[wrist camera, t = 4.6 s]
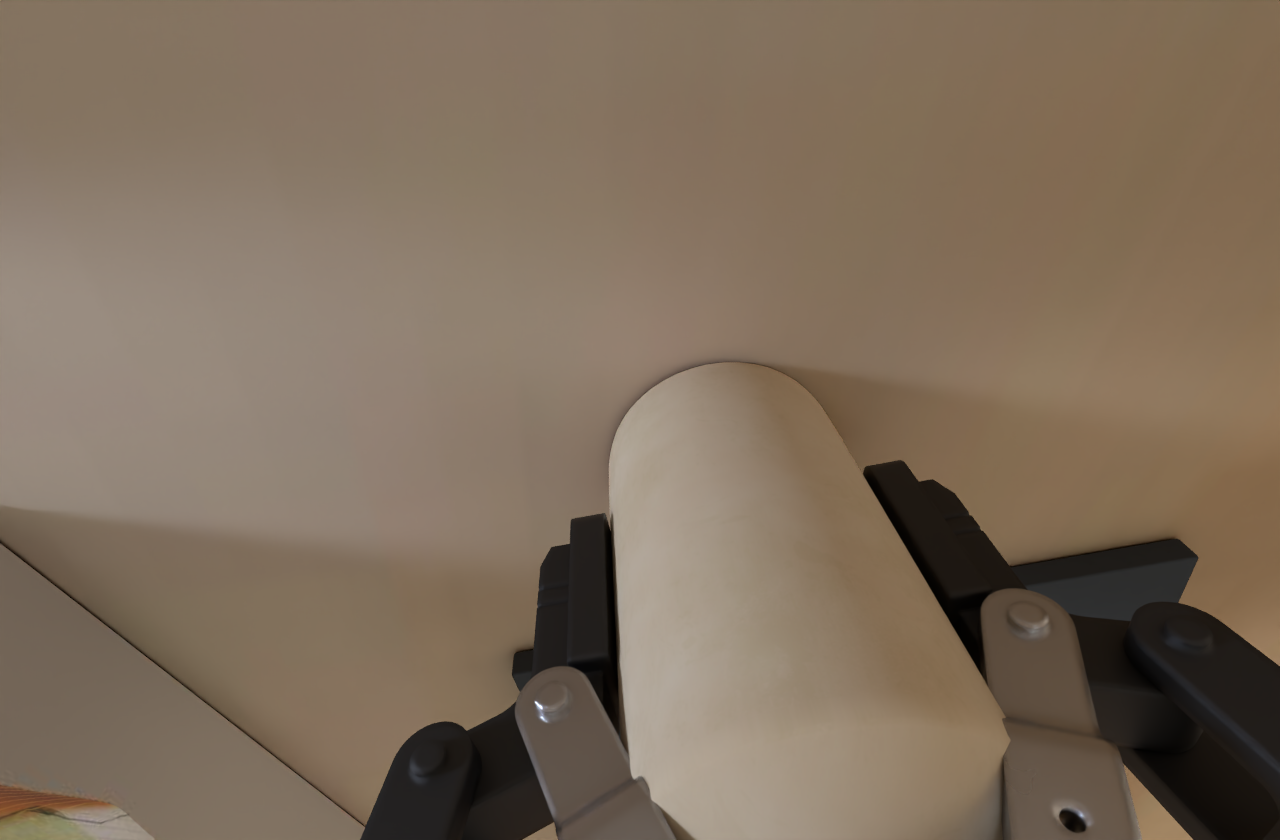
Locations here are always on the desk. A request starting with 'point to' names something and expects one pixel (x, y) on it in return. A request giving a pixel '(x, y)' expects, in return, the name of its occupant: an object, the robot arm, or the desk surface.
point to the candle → (783, 631)
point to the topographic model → (126, 740)
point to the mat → (1076, 584)
